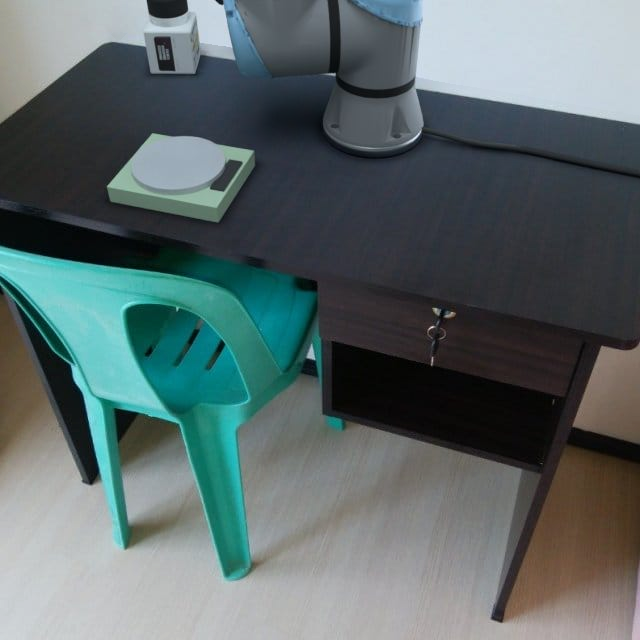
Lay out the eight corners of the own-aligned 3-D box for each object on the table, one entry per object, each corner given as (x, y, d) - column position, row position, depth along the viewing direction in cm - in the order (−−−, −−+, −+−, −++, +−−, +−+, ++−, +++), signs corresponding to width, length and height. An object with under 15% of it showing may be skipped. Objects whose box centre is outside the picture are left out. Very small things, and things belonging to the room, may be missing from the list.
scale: (255, 165, 109) (253, 144, 106) (218, 222, 100) (215, 201, 97) (155, 147, 112) (151, 127, 110) (110, 201, 103) (105, 180, 100)
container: (195, 75, 128) (185, -2, 119) (150, 74, 128) (136, -2, 119) (201, 54, 133) (192, -21, 124) (158, 53, 133) (145, -22, 124)
